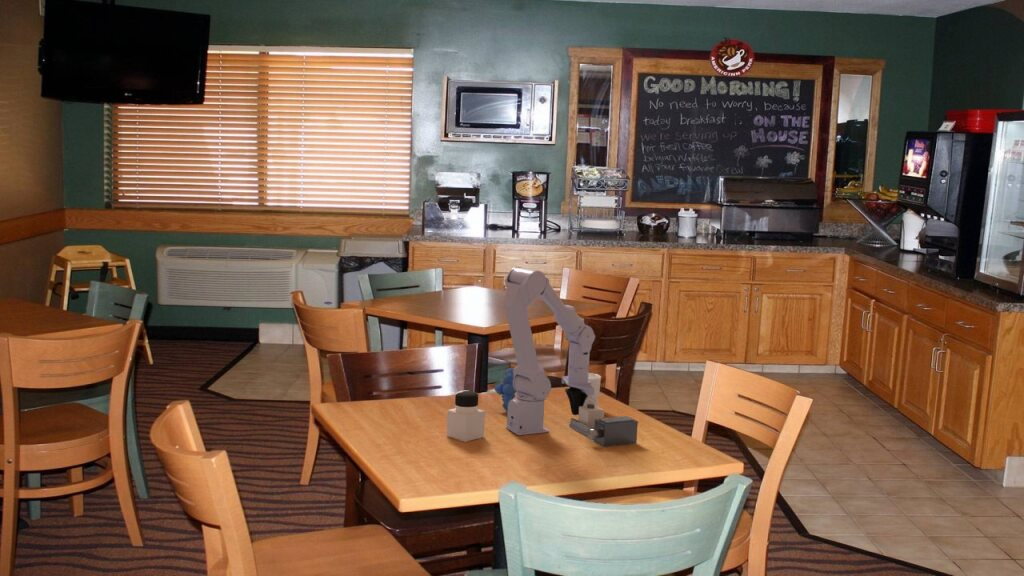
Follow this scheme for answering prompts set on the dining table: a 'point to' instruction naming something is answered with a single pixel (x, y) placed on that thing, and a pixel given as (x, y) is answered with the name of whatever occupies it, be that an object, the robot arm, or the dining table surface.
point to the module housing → (609, 430)
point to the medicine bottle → (465, 417)
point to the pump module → (590, 414)
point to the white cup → (595, 384)
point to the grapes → (506, 388)
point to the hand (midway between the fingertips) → (576, 414)
